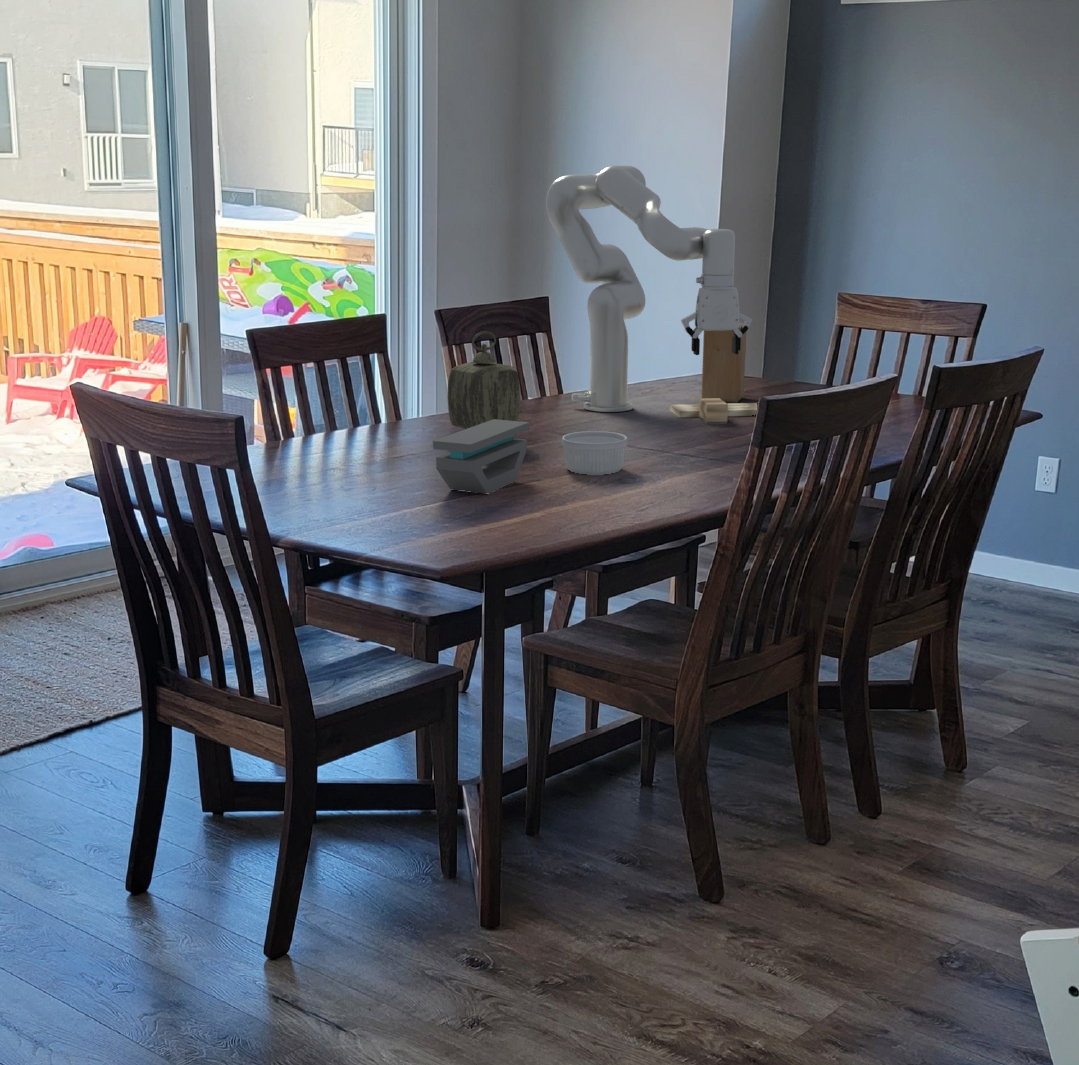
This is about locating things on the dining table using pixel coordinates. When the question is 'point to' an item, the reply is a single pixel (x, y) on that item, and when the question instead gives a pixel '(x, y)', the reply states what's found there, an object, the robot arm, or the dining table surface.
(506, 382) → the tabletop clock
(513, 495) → the dining table surface
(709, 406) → the block
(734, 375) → the wooden block
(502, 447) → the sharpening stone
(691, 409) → the birch plank
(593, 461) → the ramekin
